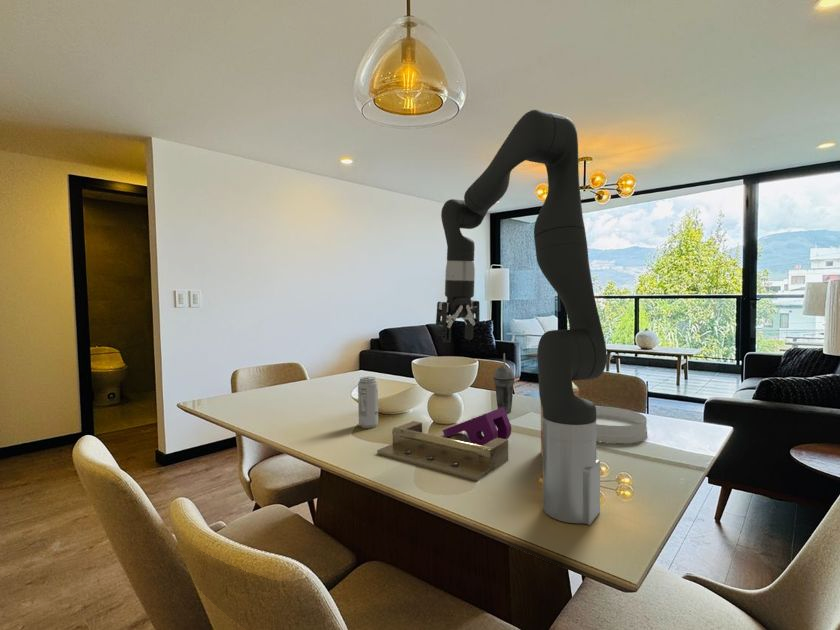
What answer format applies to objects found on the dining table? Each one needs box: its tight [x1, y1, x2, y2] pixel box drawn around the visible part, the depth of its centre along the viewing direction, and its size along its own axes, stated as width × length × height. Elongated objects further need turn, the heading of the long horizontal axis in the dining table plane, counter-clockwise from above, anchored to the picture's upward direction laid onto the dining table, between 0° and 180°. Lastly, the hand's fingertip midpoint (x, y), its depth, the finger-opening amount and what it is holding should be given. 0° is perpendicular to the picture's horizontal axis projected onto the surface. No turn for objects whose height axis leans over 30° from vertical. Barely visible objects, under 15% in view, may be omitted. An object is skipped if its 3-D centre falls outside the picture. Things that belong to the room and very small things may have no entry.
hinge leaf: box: [376, 420, 509, 482], centre depth 109 cm, size 29×15×5 cm, turn 53°
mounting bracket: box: [442, 407, 512, 445], centre depth 121 cm, size 9×8×18 cm
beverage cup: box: [493, 352, 516, 414], centre depth 152 cm, size 7×7×20 cm
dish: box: [595, 405, 648, 444], centre depth 128 cm, size 22×22×5 cm
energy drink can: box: [357, 376, 379, 429], centre depth 137 cm, size 6×6×15 cm
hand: (457, 340), depth 116 cm, fingers open, 8 cm apart
